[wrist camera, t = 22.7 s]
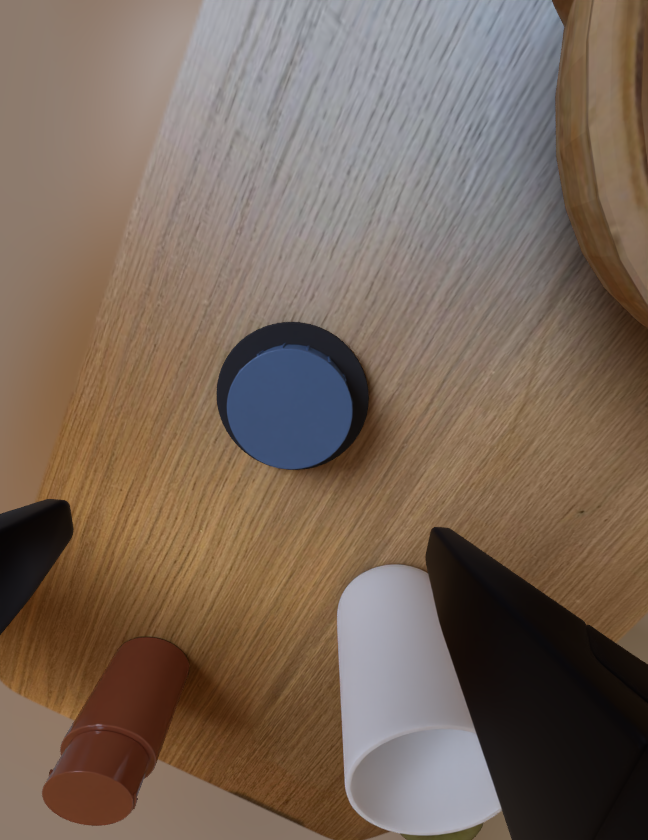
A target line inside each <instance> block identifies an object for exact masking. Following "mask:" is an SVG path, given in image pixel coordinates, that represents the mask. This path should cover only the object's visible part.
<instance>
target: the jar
mask: <svg viewBox="0 0 648 840" xmlns="http://www.w3.org/2000/svg"><path fill="white" fill-rule="evenodd" d="M188 675H189V662H188V659H187V657H186V656H185V654H184V653H183V652H182V651H181V650H180V649H179V648H178V647H176V646H175V645H174V644H172V643H170V642H168V641H165V640H162V639H159V638H153V637H140V638H135V639H132V640H129V641H127V642H125V643H124V644H122V645H121V646H120V647H119V648H118V649H117V651H116V653H115V654H114V656H113V658H112V659H111V661H110V663H109V664H108V666H107V668H106V669H105V671H104V673H103V674H102V676H101V678H100V679H99V681H98V683H97V684H96V686H95V687H94V689H93V691H92V692H91V694H90V696H89V697H88V699H87V701H86V702H85V704H84V706H83V707H82V709H81V711H80V712H79V714H78V716H77V717H76V719H75V721H74V722H73V724H72V726H71V727H70V729H69V731H68V732H67V734H66V736H65V738H64V739H63V741H62V744H61V749H60V752H61V757H60V759H59V761H58V762H57V764H56V766H55V768H54V769H53V770H50V772H49V778H48V779H47V781H46V783H45V785H44V786H43V790H42V797H43V800H44V802H45V804H46V805H47V806H48V808H49V809H51V810H52V811H53V812H54V813H56V814H57V815H59V816H60V817H62V818H64V819H66V820H69V821H71V822H75V823H79V824H84V825H92V826H99V825H108V824H113V823H116V822H118V821H121V820H123V819H124V818H125V817H127V816H128V815H129V814H130V813H131V811H132V810H133V809H134V808H135V806H136V803H137V800H138V798H137V795H138V793H139V790H140V787H141V785H142V782H143V779H145V778H146V777H148V776H149V775H150V773H151V772H152V771H153V770H154V768H155V765H156V763H157V760H158V757H159V754H160V752H161V749H162V746H163V743H164V741H165V738H166V735H167V732H168V730H169V727H170V724H171V722H172V719H173V716H174V713H175V711H176V708H177V705H178V702H179V700H180V697H181V694H182V691H183V689H184V686H185V683H186V680H187V678H188Z"/></svg>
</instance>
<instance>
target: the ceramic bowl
mask: <svg viewBox="0 0 648 840" xmlns="http://www.w3.org/2000/svg"><path fill="white" fill-rule="evenodd" d="M552 2H553V4H554V6H555V9H556V11H557V13H558V15H559V17H560V19H561V21H562V23H563V25H564V27H565V28H564V33H563V41H562V49H561V57H560V64H559V72H558V80H557V88H556V96H555V106H556V158H557V163H558V169H559V175H560V180H561V186H562V191H563V197H564V202H565V208H566V211H567V214H568V216H569V219H570V222H571V224H572V227H573V230H574V232H575V235H576V238H577V240H578V243H579V246H580V248H581V251H582V253H583V255H584V256H585V258H586V260H587V261H588V263H589V264H590V266H591V268H592V269H593V271H594V272H595V274H596V276H597V277H598V279H599V280H600V282H601V283H602V285H603V287H604V288H605V289H606V290H607V291H608V292H609V293H610V294H611V295H612V296H613V297H614V298H615V299H616V300H617V301H618V302H619V303H620V304H621V305H622V306H623V307H624V308H625V309H626V310H627V311H628V312H629V313H630V314H631V315H632V316H633V317H634V318H635V319H636V320H637V321H639V322H640V323H641V324H642V325H644V326H645V327H647V328H648V0H552Z"/></svg>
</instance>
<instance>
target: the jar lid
mask: <svg viewBox="0 0 648 840" xmlns="http://www.w3.org/2000/svg"><path fill="white" fill-rule="evenodd" d="M238 372H239V373H238V374H237V375H236V377H235V379H234V381H233V383H232V385H231V387H230V390H229V394H228V399H227V416H228V421H229V424H230V427H231V430H232V432H233V434H234V436H235V438H236V439H237V441H238V442H239V444H240V445H241V446H242V447H243V448H244V450H245V451H247V452H248V453H249V454H250V455H251V456H253V457H254V458H255V459H257V460H259V461H261V462H262V463H265V464H267V465H270V466H273V467H277V468H282V469H302V468H306V467H310V466H313V465H316V464H318V463H320V462H322V461H324V460H325V459H327V458H328V457H330V456H331V455H332V454H333V453H334V452H336V450H337V449H338V448H339V447H340V446H341V444H342V443H343V441H344V440H345V438H346V436H347V434H348V432H349V429H350V426H351V421H352V411H353V409H352V404H353V401H352V398H351V395H350V392H349V389H348V386H347V383H346V381H347V380H346V378H345V375H344V374H342V372H341V371H340V369H339V368H338V367H337V365H336V364H335V363H334V362H333V361H332V360H331V359H330V357H327V356H326V355H324V354H323V353H321V352H319V351H317V350H315V349H313V348H310V347H309V346H302V345H291V344H289V345H286V343H284V344H283V345H281V346H277V347H273V348H271V349H268V350H266V351H261V352H260V353H258V354H257V356H256V357H255V358H254V359H252V360H251V361H250V362H248V363H247V364H246V365H245V366H244V367H243V368H241V369H240V370H239V371H238Z"/></svg>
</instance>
